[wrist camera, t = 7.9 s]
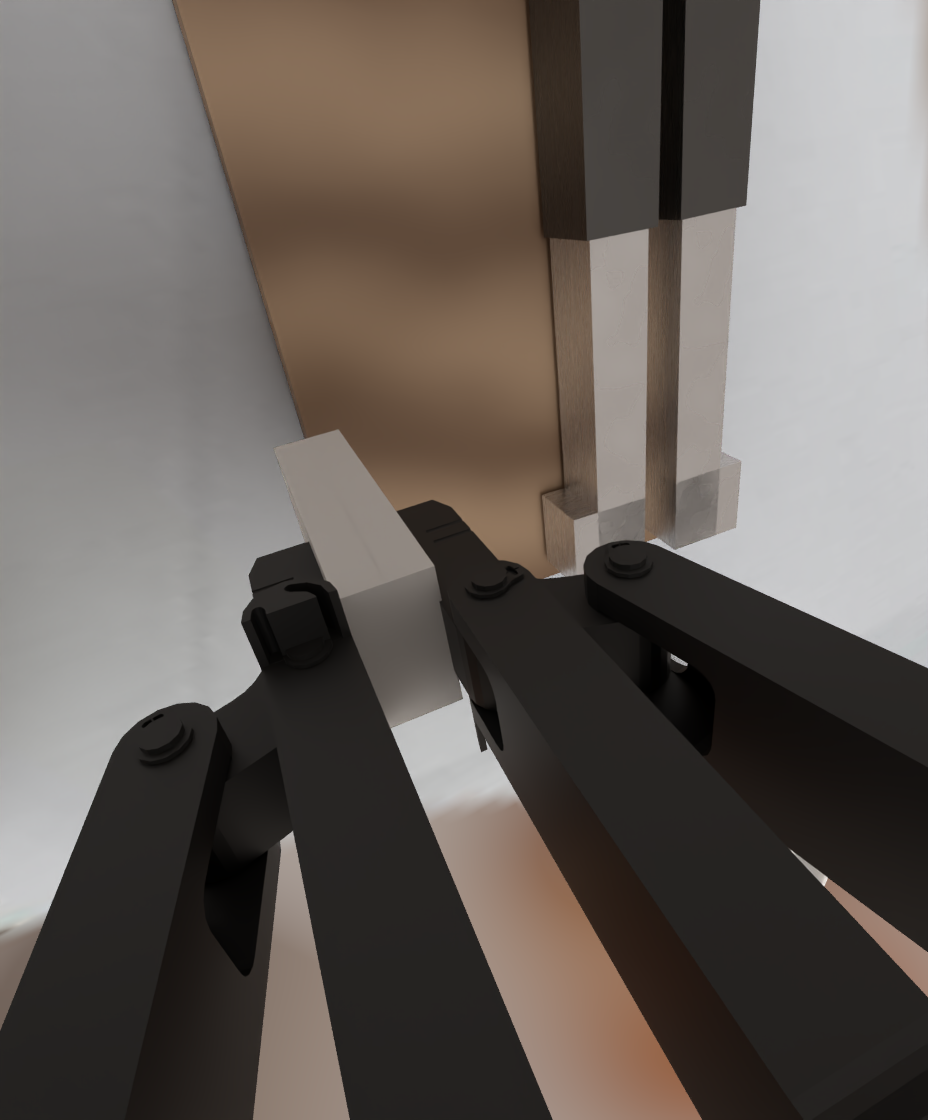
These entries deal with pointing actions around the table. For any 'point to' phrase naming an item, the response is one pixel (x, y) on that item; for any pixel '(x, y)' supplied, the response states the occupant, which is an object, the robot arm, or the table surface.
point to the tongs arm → (598, 254)
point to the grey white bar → (696, 264)
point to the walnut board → (399, 239)
